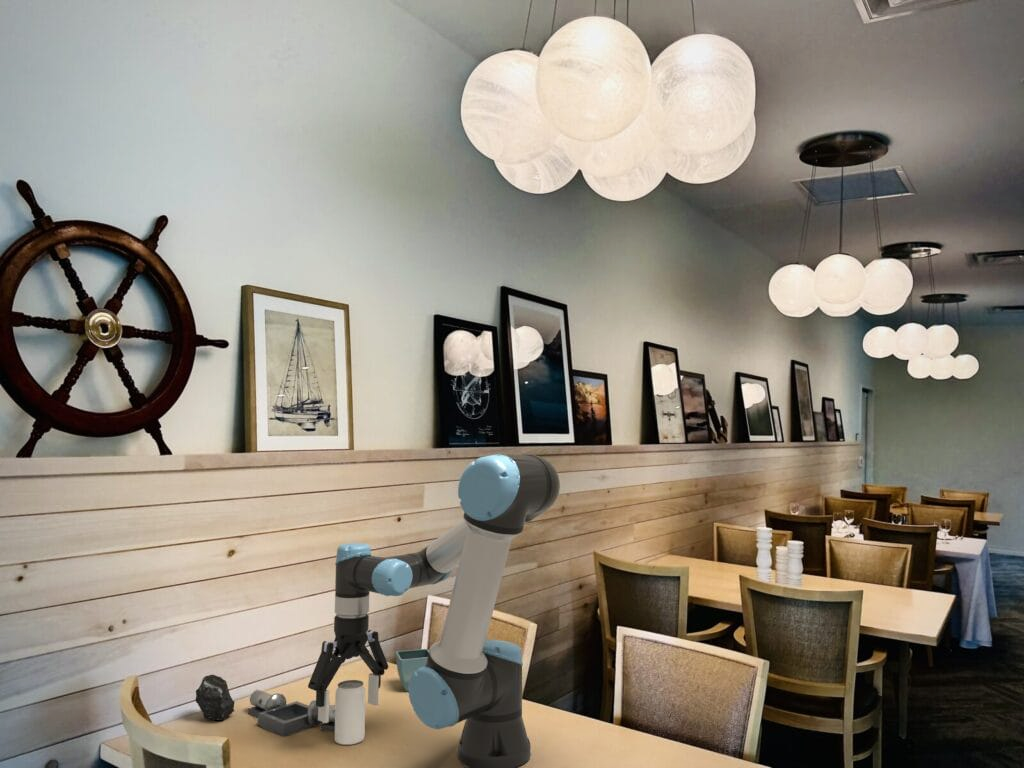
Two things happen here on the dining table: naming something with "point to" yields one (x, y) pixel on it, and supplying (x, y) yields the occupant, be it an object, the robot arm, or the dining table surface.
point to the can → (350, 712)
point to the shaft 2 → (313, 716)
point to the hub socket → (286, 719)
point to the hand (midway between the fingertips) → (348, 712)
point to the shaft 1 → (265, 702)
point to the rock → (214, 698)
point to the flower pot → (410, 664)
